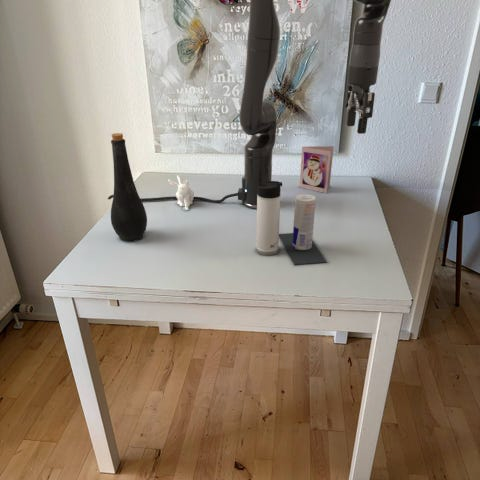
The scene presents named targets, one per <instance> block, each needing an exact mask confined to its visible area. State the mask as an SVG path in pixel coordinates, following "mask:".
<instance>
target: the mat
mask: <svg viewBox="0 0 480 480" xmlns="http://www.w3.org/2000/svg"><path fill="white" fill-rule="evenodd" d="M279 239H280V241H281V242H282V244H283V246H284V249H285V250H286V252H287V254H288V255H289V257H290V259H291V261H292V263H293V265H294V266H302V265H303V266H304V265H315V264H326V263H327V260H326V259H325V257H324V255H323V254H322V252H321V251H320V249H319V248H318V246H317V245H316V244H315V242H314V241H313V240H312V247H311V248H310V249H308V250H297V249H295V248H294V247H293V246H292V244H293V232H291V233H289V232H288V233H279Z"/></svg>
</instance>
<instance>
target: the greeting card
mask: <svg viewBox="0 0 480 480" xmlns="http://www.w3.org/2000/svg"><path fill="white" fill-rule="evenodd" d="M334 148H335V147H334V146H301V157H300V158H301V159H300V172H299V173H300V174H299V188H301V189H306V190H310V191H315V192H320V193H325V194H327V193H328V188H330V186H331V177H332V167H333V156H334Z"/></svg>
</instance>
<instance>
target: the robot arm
mask: <svg viewBox="0 0 480 480" xmlns="http://www.w3.org/2000/svg"><path fill="white" fill-rule="evenodd" d="M352 1H353V2H355V3H358V4H360V5H364V6H363V9H362V14H361V15H360V16H359V17H358V18H356V20H355V22H354V26H353V33H352V44H351V49H350V53H349V62H348V71H347V78H346V79H347V81H346V82H347V88H346V94H345V95H346V96H345V103H344V108H345V109H346V111H347V117H346V126H347V127H355V125H356V117H357V112H358V121H357V129H356V133H357V134H359V135H362V134H363V135H364V134H366V132H367V127H368V120H369V119H371V118H372V117H373V113H374V104H375V96H376V95H375V94H376V93H375V92H370V91H371V90H370V89H371V88H370V87H371V86H375V85H376V84H377V81H378V75H379V74H378V73H379V66H380V59H381V45H382V37H383V29H384V24H385V23H384V22H385V20H386V17H387V14H388V12H389V8H390V6H391V2H392V0H352ZM248 14H249V17H248V30H247V39H246V40H247V41H246V42H247V43H246V61H245V69H244V71H245V73H244V84H243V90H242V96H241V102H240V108H239V124H240V128H241V130H242V131H243V133H245V134H246V135H247V136H251V137H250V139H249V140H248V141H247V142H246V143H245V145H244V153H243V154H244V156H243V157H244V159H243V163H244V165H243V166H244V172H243V174H244V175H243V176H242V177H241V187H239V188H238V190H237V192H235V193H230V194H227V195H224V196H223V197H222V198H221V199H210V198H207V197H202V196H194V199H193V200H195V201H197V200H198V201H204V202H207V203H212V204H220V203H223V202H224V201H225V200H226V199H229V198H234V197H237V201H241V204H242V205H244V206H245V207H247V208H250V209H255V210H257V194H258V185H259V184H261V183H263V182H267V181H272V177H273V176H272V175H273V170H272V169H273V150H274V147H275V144H276V136H277V125H278V115H277V110H276V107H275V106H274V104H273V103H272V102H271V101H269V100H264V94H265V89H266V85H267V83H268V80H269V78H270V76H271V74H272V71H273V69H274V67H275V64H276V63H277V59H278V55H279V48H280V37H281V27H280V21H279V17H278V14H277V10H276V7H275V1H274V0H249V13H248ZM113 195H114V194H110V195H109V196H108V197H107V200H111V199H113ZM140 199H141V201H142V202H156V201H167V200H169V201H170V200H178V199H177V197H176V195H175V196H174V195H173V196H159V197H146V198H145V197H144V198H140Z"/></svg>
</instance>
